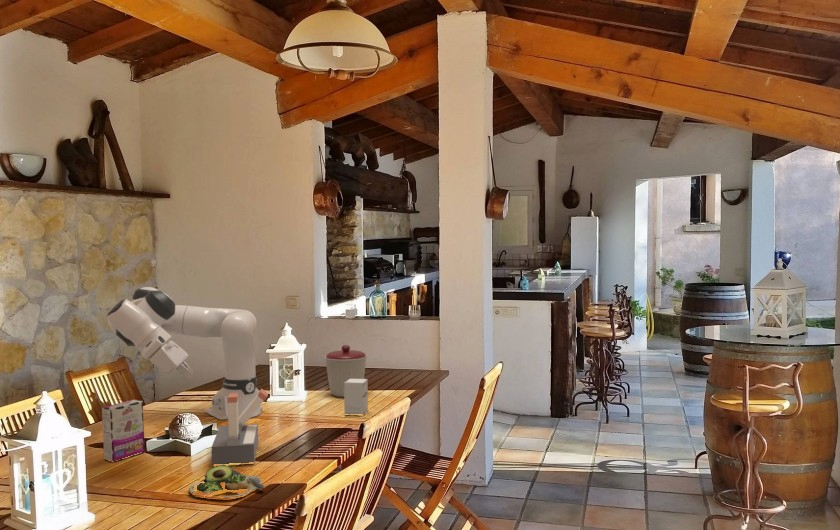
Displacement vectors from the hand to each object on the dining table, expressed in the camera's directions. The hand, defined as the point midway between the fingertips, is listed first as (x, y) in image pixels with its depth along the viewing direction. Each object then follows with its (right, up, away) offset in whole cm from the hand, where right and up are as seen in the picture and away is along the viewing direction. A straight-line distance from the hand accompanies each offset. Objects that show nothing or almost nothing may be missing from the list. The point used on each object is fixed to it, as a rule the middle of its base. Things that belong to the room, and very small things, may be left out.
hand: (191, 375), depth 205 cm
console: (+11, -26, +8) cm, 29 cm away
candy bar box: (-23, -26, +7) cm, 35 cm away
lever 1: (+12, -19, +1) cm, 23 cm away
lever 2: (+10, -18, +15) cm, 26 cm away
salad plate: (+16, -27, -20) cm, 38 cm away
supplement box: (+44, -23, +55) cm, 74 cm away
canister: (+37, -22, +86) cm, 96 cm away
